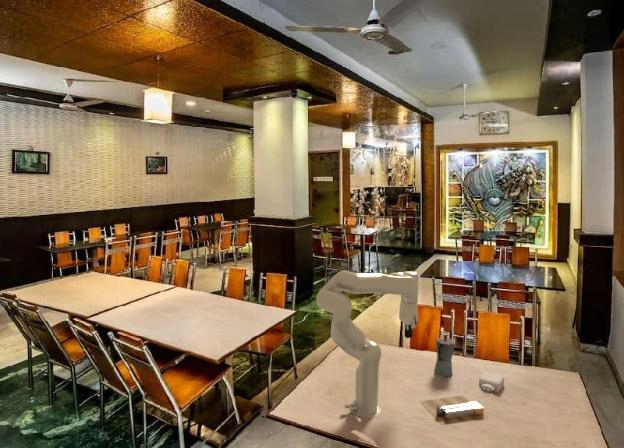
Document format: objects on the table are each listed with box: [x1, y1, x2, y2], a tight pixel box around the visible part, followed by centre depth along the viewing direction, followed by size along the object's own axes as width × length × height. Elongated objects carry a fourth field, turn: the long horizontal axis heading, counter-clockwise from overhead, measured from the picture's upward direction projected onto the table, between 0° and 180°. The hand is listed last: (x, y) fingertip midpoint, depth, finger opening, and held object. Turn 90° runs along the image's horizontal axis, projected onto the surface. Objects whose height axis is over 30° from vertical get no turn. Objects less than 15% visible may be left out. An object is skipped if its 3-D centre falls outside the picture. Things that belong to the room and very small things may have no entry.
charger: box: [478, 371, 505, 393], centre depth 198 cm, size 5×9×15 cm
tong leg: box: [436, 400, 480, 417], centre depth 175 cm, size 19×3×3 cm, turn 103°
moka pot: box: [433, 335, 456, 378], centre depth 211 cm, size 10×15×20 cm, turn 148°
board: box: [418, 395, 489, 425], centre depth 178 cm, size 22×18×1 cm
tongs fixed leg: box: [444, 404, 485, 419], centre depth 172 cm, size 17×2×3 cm, turn 104°
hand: (408, 337), depth 191 cm, fingers closed
